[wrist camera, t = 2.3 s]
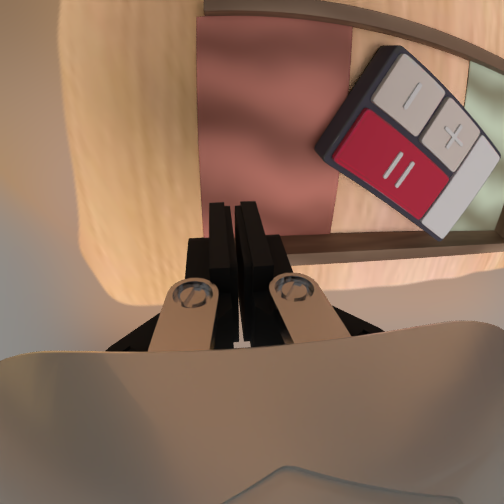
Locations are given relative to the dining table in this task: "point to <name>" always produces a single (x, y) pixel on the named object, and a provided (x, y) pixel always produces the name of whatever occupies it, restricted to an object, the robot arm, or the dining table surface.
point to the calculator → (409, 142)
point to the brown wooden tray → (317, 125)
